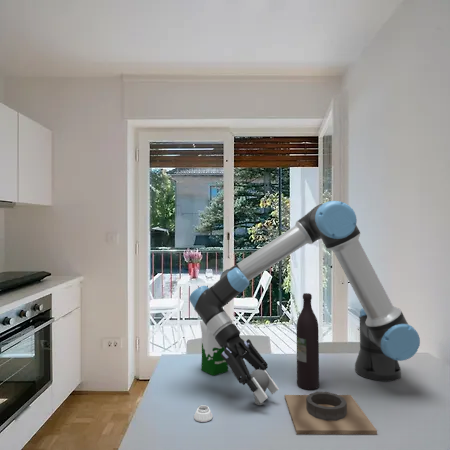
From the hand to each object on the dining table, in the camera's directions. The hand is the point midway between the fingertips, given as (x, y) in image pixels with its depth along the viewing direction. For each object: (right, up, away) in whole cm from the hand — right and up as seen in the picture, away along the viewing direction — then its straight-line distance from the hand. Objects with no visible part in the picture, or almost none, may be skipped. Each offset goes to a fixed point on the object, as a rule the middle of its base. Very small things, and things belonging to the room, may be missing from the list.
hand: (270, 395), depth 107 cm
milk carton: (-17, -4, +28) cm, 33 cm away
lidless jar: (-19, -4, -6) cm, 20 cm away
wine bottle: (+14, -4, +15) cm, 21 cm away
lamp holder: (+15, -3, -4) cm, 16 cm away
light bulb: (-3, -4, +2) cm, 5 cm away
